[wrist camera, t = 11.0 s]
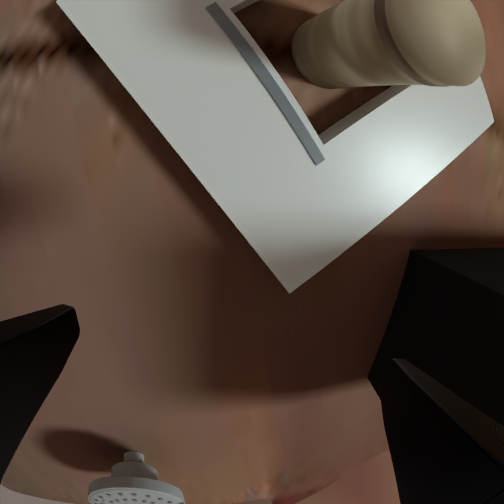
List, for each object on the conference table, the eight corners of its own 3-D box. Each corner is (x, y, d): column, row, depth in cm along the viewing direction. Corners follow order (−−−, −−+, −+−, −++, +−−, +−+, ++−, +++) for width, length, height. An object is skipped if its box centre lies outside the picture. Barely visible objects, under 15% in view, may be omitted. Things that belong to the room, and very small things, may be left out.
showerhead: (201, 522, 23) (112, 527, 21) (191, 469, 30) (110, 475, 28) (178, 494, 19) (69, 496, 17) (170, 427, 26) (75, 434, 24)
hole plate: (66, 12, 11) (55, 1, 10) (347, -105, 10) (361, -116, 8) (279, 278, 22) (290, 294, 20) (477, 118, 20) (495, 121, 19)
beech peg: (273, 39, 15) (373, -16, 6) (332, 6, 15) (446, -42, 6) (321, 104, 18) (444, 110, 9) (373, 67, 17) (498, 61, 8)
